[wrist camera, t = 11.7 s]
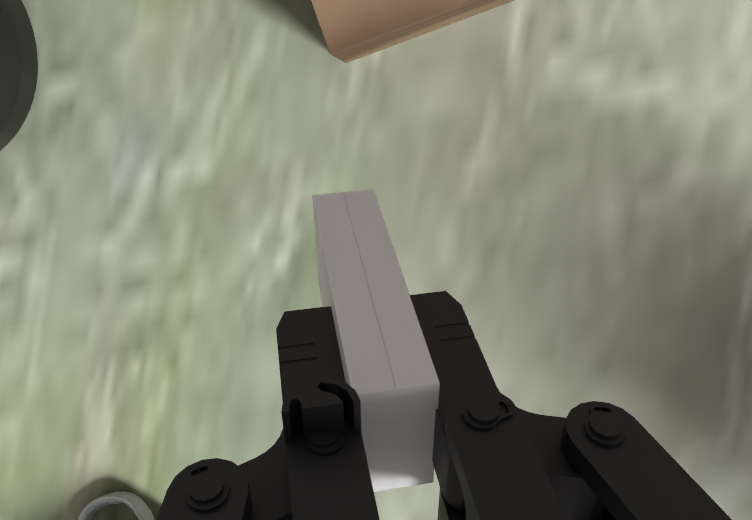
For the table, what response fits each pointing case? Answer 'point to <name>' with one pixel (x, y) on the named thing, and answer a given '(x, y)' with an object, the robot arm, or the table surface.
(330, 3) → the walnut stand
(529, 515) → the robot arm
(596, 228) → the table surface
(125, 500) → the ceramic mug
